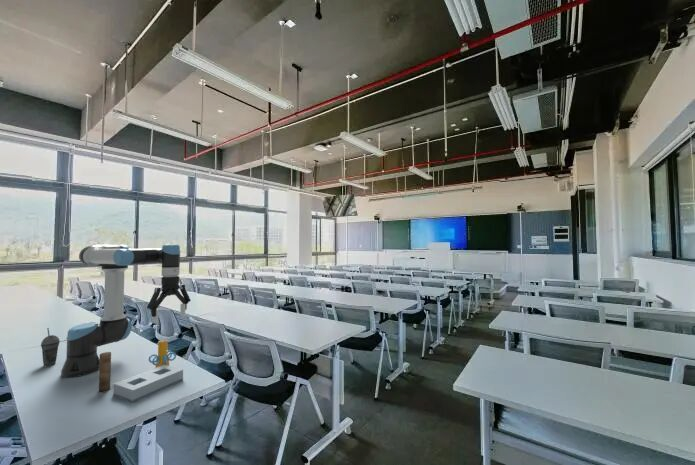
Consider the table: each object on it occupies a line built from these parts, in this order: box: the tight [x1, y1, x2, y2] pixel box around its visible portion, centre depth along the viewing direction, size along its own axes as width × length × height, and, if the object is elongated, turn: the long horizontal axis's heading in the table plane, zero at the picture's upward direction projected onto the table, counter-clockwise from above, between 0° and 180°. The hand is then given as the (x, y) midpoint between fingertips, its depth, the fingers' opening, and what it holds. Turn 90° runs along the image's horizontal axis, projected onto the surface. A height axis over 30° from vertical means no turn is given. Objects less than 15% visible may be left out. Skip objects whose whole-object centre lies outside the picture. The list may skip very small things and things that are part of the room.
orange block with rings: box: [148, 339, 177, 368], centre depth 152 cm, size 12×10×15 cm
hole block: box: [112, 365, 184, 404], centre depth 133 cm, size 14×22×5 cm, turn 155°
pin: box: [98, 351, 112, 393], centre depth 131 cm, size 4×4×16 cm
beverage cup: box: [40, 327, 61, 367], centre depth 159 cm, size 7×7×20 cm
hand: (169, 320), depth 143 cm, fingers open, 13 cm apart
